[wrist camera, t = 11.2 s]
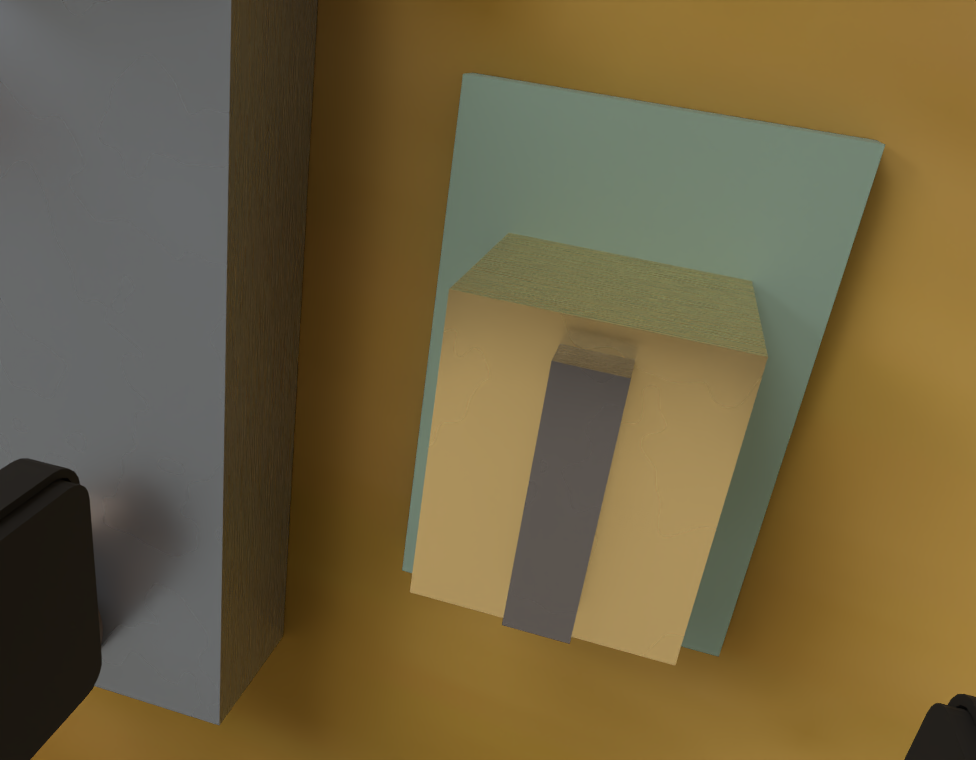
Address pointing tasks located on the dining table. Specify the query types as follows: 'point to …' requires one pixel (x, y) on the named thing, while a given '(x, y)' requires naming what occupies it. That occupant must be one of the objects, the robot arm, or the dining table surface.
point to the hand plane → (161, 313)
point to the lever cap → (585, 441)
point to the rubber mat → (665, 247)
